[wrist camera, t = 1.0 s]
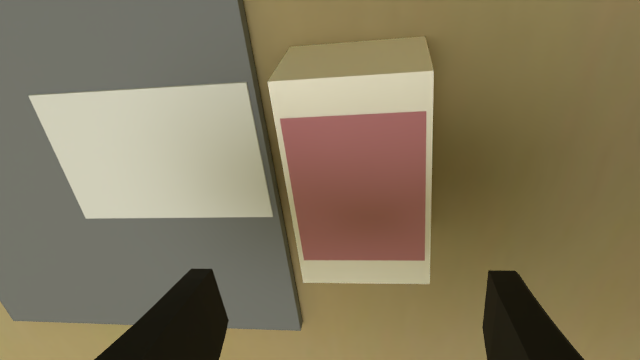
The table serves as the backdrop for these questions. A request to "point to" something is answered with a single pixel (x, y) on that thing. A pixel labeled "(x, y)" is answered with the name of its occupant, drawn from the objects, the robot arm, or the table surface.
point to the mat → (136, 163)
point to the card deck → (358, 158)
